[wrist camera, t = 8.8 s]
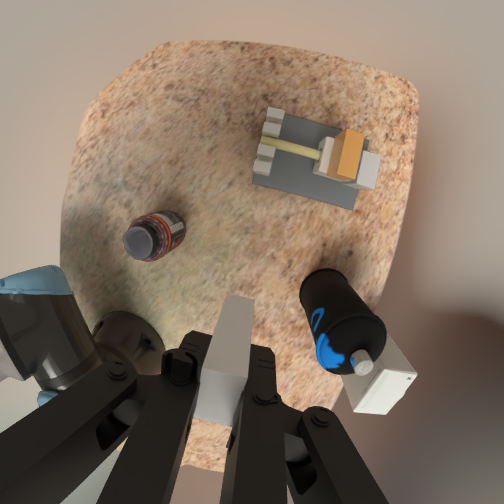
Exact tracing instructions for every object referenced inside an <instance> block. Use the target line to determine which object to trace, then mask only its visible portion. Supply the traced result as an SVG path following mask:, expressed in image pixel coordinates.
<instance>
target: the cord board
mask: <svg viewBox="0 0 504 504" xmlns="http://www.w3.org/2000/svg"><path fill="white" fill-rule="evenodd" d="M284 113H285V110H281V109H277V108H273V107H268V110H267V114H266V122H264V126H263V130H262V137H261V140H260V144H259V146H258V150H257V159H256V160H255V162H254V166H253V171H254V177H253V181H252V184H257V185H261V186H265V187H269V188H273V189H277V190H281V191H285V192H288V193H292V194H296V195H300V196H303V197H307V198H311V199H314V200H318V201H321V202H325V203H328V204H332V205H335V206H338V207H342V208H345V209H348V210H352V211H353V208H354V204H355V200H356V196H357V192H358V189H372V190H374V187H375V183H376V179H377V174H378V169H379V165H380V160H381V157H380V156H378V155H375V154H373V153H370V152H367V148H368V143H369V140H367V139H364V141H363V146H362V151H361V156H360V160H359V165H358V169H357V174H356V178H355V180H350V181H341V182H340V181H337V180H334V179H331V178H327V177H324V176H321V175H317V174H314V173H312V172H313V168H314V164H315V160H320V157H321V152H322V151H319V150H318V147H319V143H320V141H322V140H323V139H324V138H325V137H327V136H328V137H331V138H334V139H335V136H337V135H338V134H340V133H341V132H342V130H339V129H336V128H332V127H329V126H326V125H323V124H320V123H316V122H313V121H309V120H306V119H302V118H299V117H295V116H291V115H287V114H284Z"/></svg>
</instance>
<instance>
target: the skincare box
mask: <svg viewBox="0 0 504 504" xmlns="http://www.w3.org/2000/svg"><path fill="white" fill-rule="evenodd" d="M373 364H374V366H373V369H372V370H371V371H370V372H369V373H368V374H366V375H363V376H359V375H357V374H356V373H354V374H348V375H341V378H342V381H343V383H344V386H345V389H346V392H347V394H348V397H349V400H350V403H351V406H352V408H353V412H360V413H372V414H385V415H386V414H387V413H388V411H389V410H390V409H391V408H392V406H394V404H395V403H396V402H397V401H398V400H399V399H400V398H401V397H402V396H403V395H404V394H405V391H406V389H407V388H408V387H409V385H410V384H411V383H412V381H413V380H414V379H415V378H416V376H417V372H416V371H415V370H414V369H413V367H412V366H411V365H410V363H409V362H408V361H407V359H406V358H405V357H404V355H403V354H402V352H401V351H400V349H399V348H398V347H397V345H396V344H395V343H394V341H393V340H392V338H391V337H390V336H389V334H388V333H387V340H386V345H385V347H384V350H383V351H382V353H381V355H380V356H379V357H378V359H377V360H376V361H375V362H374V363H373Z"/></svg>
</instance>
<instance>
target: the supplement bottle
mask: <svg viewBox="0 0 504 504" xmlns="http://www.w3.org/2000/svg"><path fill="white" fill-rule="evenodd" d="M184 236H185V225H184V222H183V220H182V219H181V217H180V216H179V215H178V214H176V213H174V212H172V211H161V212H157V213H152V214H148V215H145V216H141V217H139V218H137V219H135V220H134V221H133V222H132V223H131V225H130V226H129V229H128V231H127V232H126V234H125V236H124V247H125V250H126V252H127V253H128V254H129V255H130V256H131V257H132V258H134V259H137V260H142V261H147V262H149V261H155V260H158V259H159V258H161V257H163V256H164V255H165V254H167V253H168V252H170V251H171V250H173V249H174V248H176V247H177V246H178V245H179V244H180V243H181V242H182V240H183V238H184Z"/></svg>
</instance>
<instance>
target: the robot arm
mask: <svg viewBox="0 0 504 504" xmlns="http://www.w3.org/2000/svg"><path fill="white" fill-rule="evenodd" d="M254 301H255V300H253V299H249V298H244V297H240V296H236V295H232V294H228V293H227V296H226V298H225V301H224V304H223V307H222V310H221V313H220V316H219V319H218V322H217V325H216V328H215V331H214V334H213V336H212V335H208V334H205V333H201V332H197V331H193V330H192V331H191V332H189V333H187V334H186V335H185V336H184V338H183V340H182V343H181V344H180V346H179V348H176V349H170V350H167V351H165V348H164V345H163V343H162V341H161V339H160V337H159V336H158V334H157V333H156V331H155V330H154V329H153V328H152V327H151V326H150V325H149V324H148V323H147V322H145V321H144V320H142V319H141V318H139V317H137V316H135V315H133V314H131V313H127V312H121V311H116V312H111V313H108V314H107V315H105V316H104V317H103V318H102V319H101V320H99V321H98V322H97V324H96V325H95V327H94V329H93V332H92V334H91V332H90V330H89V328H88V326H87V324H86V322H85V320H84V318H83V316H82V314H81V312H80V309H79V307H78V305H77V302H76V300H75V298H74V292H73V291H72V290H71V288H70V286H69V284H68V282H67V280H66V277H65V275H64V273H63V271H62V270H61V269H60V268H59V267H57V266H55V265H48V266H43V267H38V268H35V269H31V270H27V271H24V272H21V273H17V274H14V275H11V276H8V277H6V278H3V279H0V382H1V381H2V380H4V379H6V378H7V377H12V378H15V379H18V380H20V381H25V380H26V379H28V378H30V377H31V376H34V378H35V379H36V381H37V383H38V384H39V386H40V387H41V389H42V391H40V392H39V395H38V398H37V402H38V404H39V408H37V409H36V410H34V411H33V412H31V413H30V414H29V415H27V416H25V417H24V418H22V419H21V420H19V421H18V422H16V423H15V424H13V425H12V426H10V427H9V428H8V429H6V430H5V431H3V432H2V433H0V504H60V503H61V502H62V501H63V500H64V499H65V498H66V497H67V496H68V495H69V494H71V492H73V491H74V490H75V489H76V488H77V487H78V486H79V485H80V484H81V483H82V482H83V481H84V480H85V479H86V478H87V477H88V476H89V475H90V474H91V473H92V472H93V471H94V470H95V469H96V468H97V467H98V466H99V465H100V464H101V463H102V462H103V461H104V460H105V459H106V458H107V457H108V456H109V455H110V454H111V453H112V452H113V451H114V450H115V449H116V448H117V447H118V446H119V445H120V444H121V443H122V442H123V441H124V440H125V439H126V438H127V437H128V438H127V440H126V442H125V444H124V446H123V448H122V450H121V452H120V454H119V457H118V459H117V461H116V463H115V465H114V467H113V469H112V471H111V473H110V475H109V477H108V480H107V481H106V484H105V486H104V488H103V490H102V492H101V494H100V496H99V499H98V501H97V503H96V504H169V503H170V500H171V496H172V493H173V489H174V485H175V482H176V478H177V474H178V471H179V468H180V464H181V461H182V457H183V454H184V450H185V447H186V443H187V440H188V436H189V433H190V429H191V424H192V419H193V418H195V419H199V420H203V421H207V422H211V423H216V424H220V425H225V426H230V427H232V431H231V434H230V437H229V440H228V443H227V445H226V448H228V450H227V457H226V463H225V470H224V477H223V484H222V490H221V497H220V504H287V485H288V488H289V490H290V493H291V496H292V499H293V502H294V504H389V503H388V501H387V499H386V498H385V496H384V494H383V493H382V491H381V489H380V488H379V486H378V484H377V483H376V481H375V480H374V478H373V476H372V474H371V473H370V471H369V469H368V468H367V466H366V465H365V463H364V461H363V459H362V458H361V456H360V455H359V453H358V451H357V449H356V448H355V446H354V444H353V443H352V441H351V439H350V438H349V436H348V434H347V432H346V431H345V429H344V427H343V426H342V424H341V422H340V420H339V419H338V417H337V416H336V415H335V414H334V412H332V411H331V410H329V409H327V408H324V407H320V406H313V407H309V408H307V409H306V410H305V411H304V412H302V411H299V410H296V409H294V408H291V407H289V406H287V405H286V404H284V403H283V402H282V399H281V396H280V395H279V394H278V393H277V385H276V370H275V369H276V365H275V355H274V353H273V352H272V350H271V348H268V347H263V346H258V345H254V344H251V335H252V324H253V312H254ZM160 372H161V374H160ZM232 424H233V426H232Z"/></svg>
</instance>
